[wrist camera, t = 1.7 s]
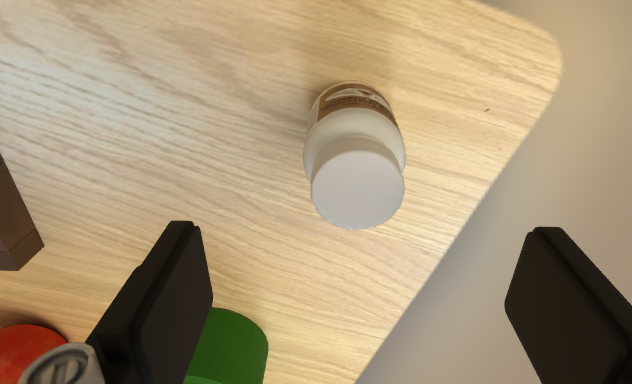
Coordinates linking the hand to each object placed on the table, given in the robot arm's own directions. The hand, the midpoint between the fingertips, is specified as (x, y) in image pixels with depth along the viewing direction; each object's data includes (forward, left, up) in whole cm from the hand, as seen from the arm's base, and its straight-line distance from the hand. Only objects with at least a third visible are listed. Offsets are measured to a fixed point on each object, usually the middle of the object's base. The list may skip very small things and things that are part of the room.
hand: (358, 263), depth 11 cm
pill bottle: (0, 0, -11) cm, 11 cm away
